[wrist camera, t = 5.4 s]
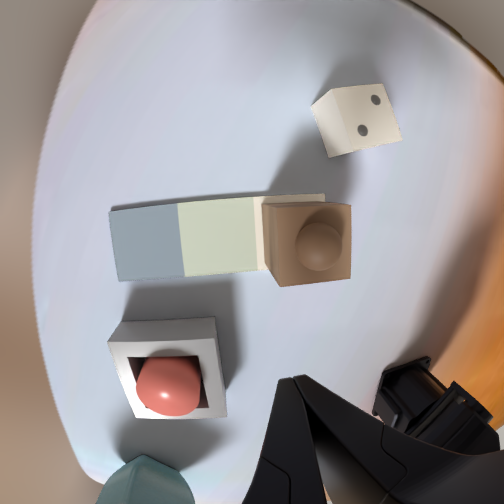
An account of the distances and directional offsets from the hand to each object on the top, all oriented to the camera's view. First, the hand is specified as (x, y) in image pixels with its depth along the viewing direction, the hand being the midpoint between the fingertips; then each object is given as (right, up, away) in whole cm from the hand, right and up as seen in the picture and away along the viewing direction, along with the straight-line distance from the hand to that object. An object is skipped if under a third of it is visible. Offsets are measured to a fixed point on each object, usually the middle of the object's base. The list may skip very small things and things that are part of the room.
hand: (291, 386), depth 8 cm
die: (+5, +13, +10) cm, 18 cm away
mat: (-3, +5, +11) cm, 12 cm away
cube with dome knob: (+2, +5, +11) cm, 12 cm away
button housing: (-7, -5, +12) cm, 15 cm away
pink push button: (-7, -5, +12) cm, 15 cm away
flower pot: (-13, -22, +16) cm, 30 cm away
